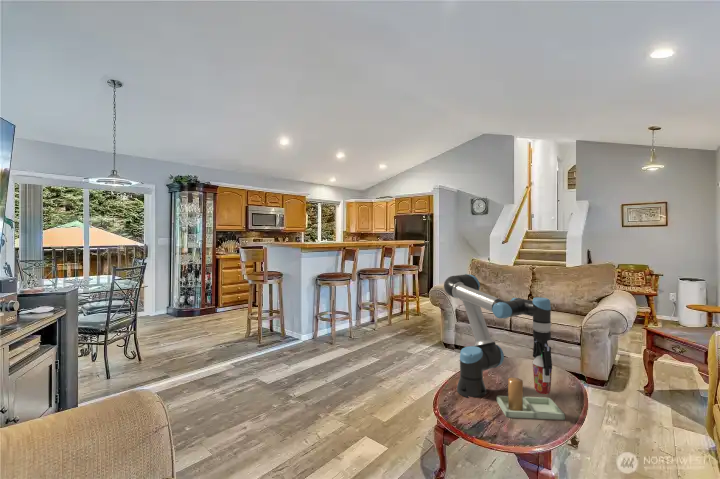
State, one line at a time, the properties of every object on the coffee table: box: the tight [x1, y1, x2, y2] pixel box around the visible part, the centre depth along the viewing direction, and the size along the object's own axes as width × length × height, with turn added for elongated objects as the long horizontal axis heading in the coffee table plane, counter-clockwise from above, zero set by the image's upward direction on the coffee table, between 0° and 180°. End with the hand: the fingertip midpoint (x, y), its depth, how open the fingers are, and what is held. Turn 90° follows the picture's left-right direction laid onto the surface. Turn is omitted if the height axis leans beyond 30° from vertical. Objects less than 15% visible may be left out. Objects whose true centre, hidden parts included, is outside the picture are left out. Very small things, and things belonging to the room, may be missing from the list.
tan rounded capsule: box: [507, 376, 524, 411], centre depth 163 cm, size 6×6×14 cm
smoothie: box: [532, 354, 553, 395], centre depth 161 cm, size 8×8×20 cm
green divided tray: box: [496, 395, 566, 421], centre depth 162 cm, size 26×15×4 cm, turn 84°
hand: (542, 377), depth 161 cm, fingers closed on smoothie, 8 cm apart
